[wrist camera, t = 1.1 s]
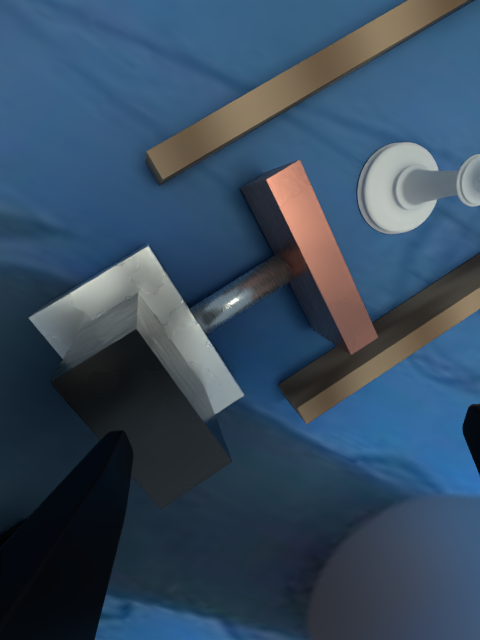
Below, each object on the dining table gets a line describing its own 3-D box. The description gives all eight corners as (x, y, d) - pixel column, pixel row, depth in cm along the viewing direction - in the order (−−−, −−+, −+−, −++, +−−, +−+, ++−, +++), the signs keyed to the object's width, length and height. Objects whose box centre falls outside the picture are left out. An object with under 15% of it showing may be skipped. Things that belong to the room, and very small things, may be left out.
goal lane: (286, 399, 23) (332, 457, 17) (145, 162, 18) (147, 136, 12) (593, 197, 25) (724, 191, 19) (548, -73, 20) (712, -189, 14)
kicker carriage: (145, 437, 21) (148, 558, 14) (40, 307, 18) (-33, 371, 10) (335, 315, 22) (434, 365, 15) (266, 172, 19) (347, 142, 11)
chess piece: (342, 174, 20) (514, 136, 11) (414, 124, 21) (641, 47, 11) (378, 250, 22) (552, 274, 13) (443, 204, 22) (660, 194, 13)
